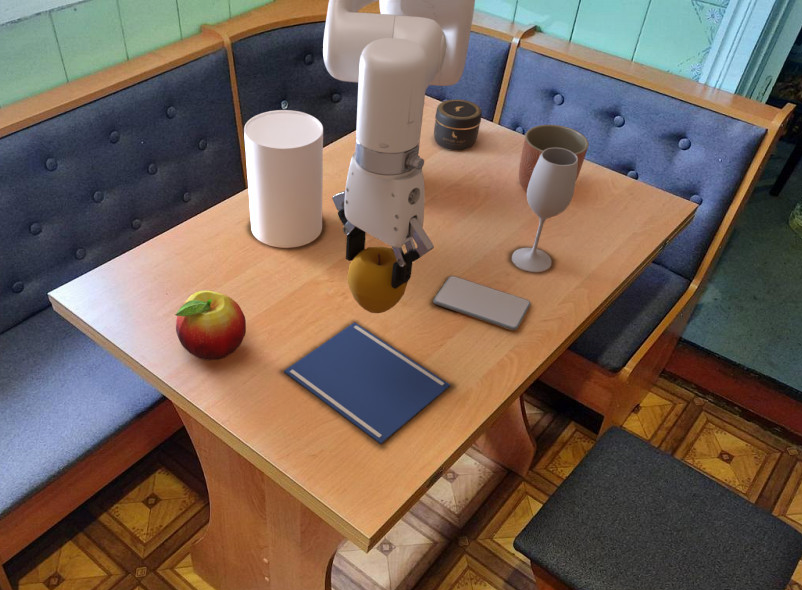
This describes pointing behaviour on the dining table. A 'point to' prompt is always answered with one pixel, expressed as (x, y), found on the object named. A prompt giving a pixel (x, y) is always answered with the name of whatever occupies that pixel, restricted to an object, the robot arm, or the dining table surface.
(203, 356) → the fruit
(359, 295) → the apple
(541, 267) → the wineglass
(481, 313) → the smartphone
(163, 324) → the dining table surface
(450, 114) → the jar
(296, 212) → the canister
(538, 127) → the planter
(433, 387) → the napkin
